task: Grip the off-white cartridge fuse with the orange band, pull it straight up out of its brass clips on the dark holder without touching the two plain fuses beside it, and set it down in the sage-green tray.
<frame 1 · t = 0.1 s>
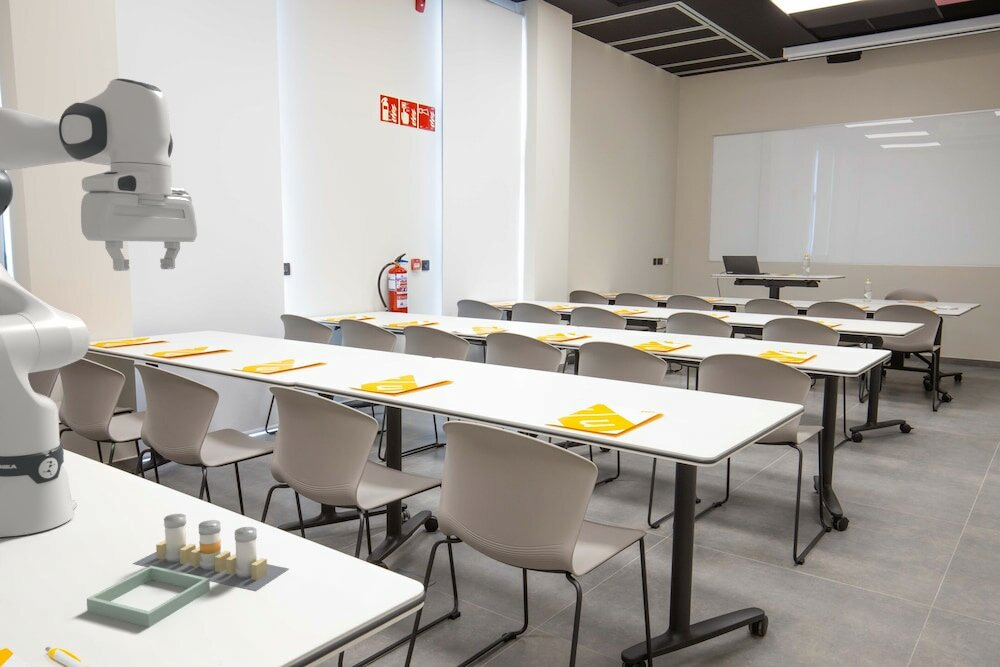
hand: (145, 270, 118), 48 cm above the table, fingers open, 8 cm apart
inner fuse: (176, 558, 117), point 1 cm above the table, touching fuse holder
marked fuse: (210, 566, 114), point 1 cm above the table, touching fuse holder
outer fuse: (246, 573, 112), point 1 cm above the table, touching fuse holder
parts tray: (150, 608, 103), on the table
fuse holder: (211, 573, 115), on the table
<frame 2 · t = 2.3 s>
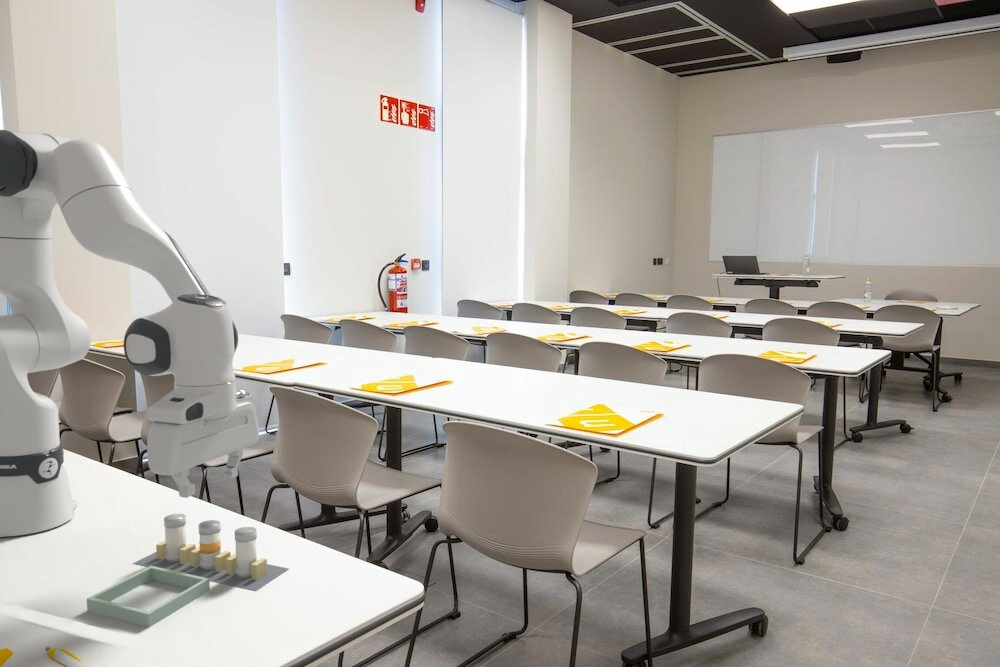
hand: (209, 486, 113), 14 cm above the table, fingers open, 8 cm apart
nothing on the table moved.
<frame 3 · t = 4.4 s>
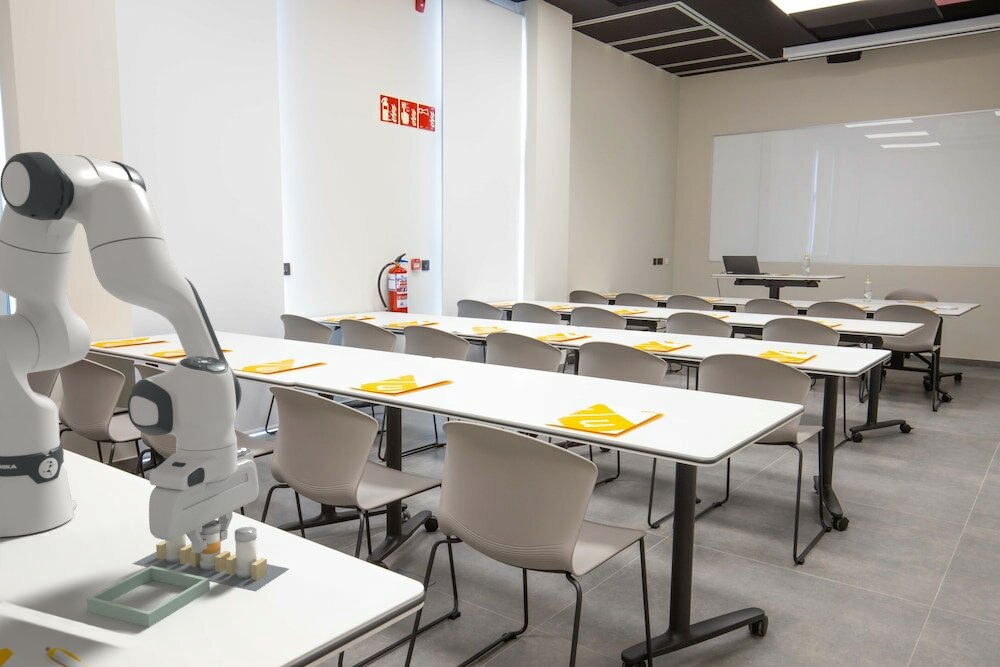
hand: (210, 545, 114), 5 cm above the table, fingers closed on marked fuse, 3 cm apart
marked fuse: (210, 566, 114), point 1 cm above the table, touching fuse holder, gripper
everything else where it was.
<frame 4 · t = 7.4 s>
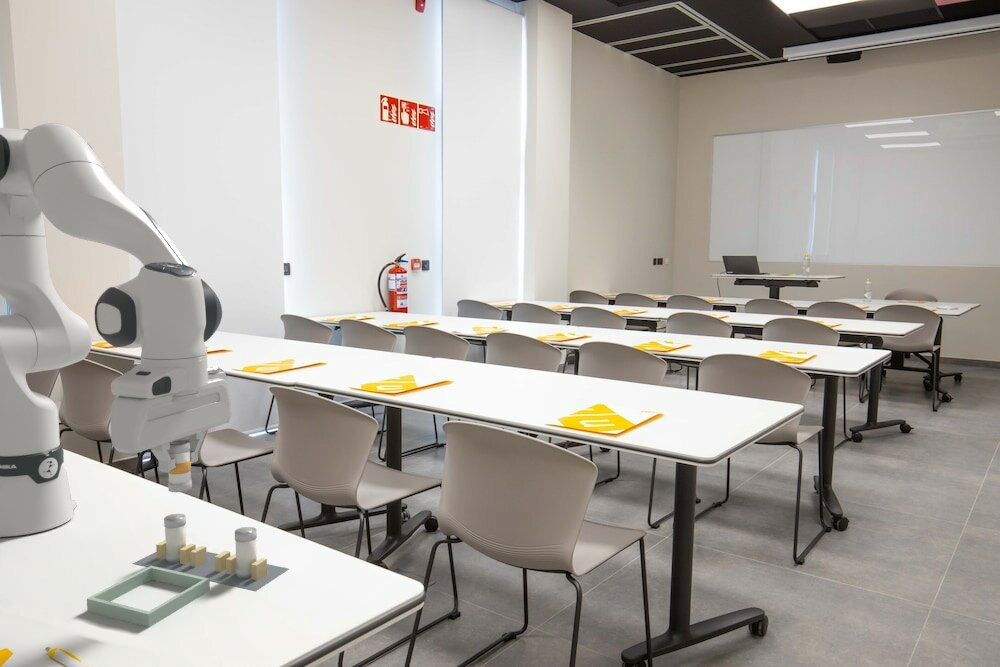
hand: (178, 466, 107), 19 cm above the table, fingers closed on marked fuse, 3 cm apart
marked fuse: (180, 488, 107), point 16 cm above the table, touching gripper
everything else where it was.
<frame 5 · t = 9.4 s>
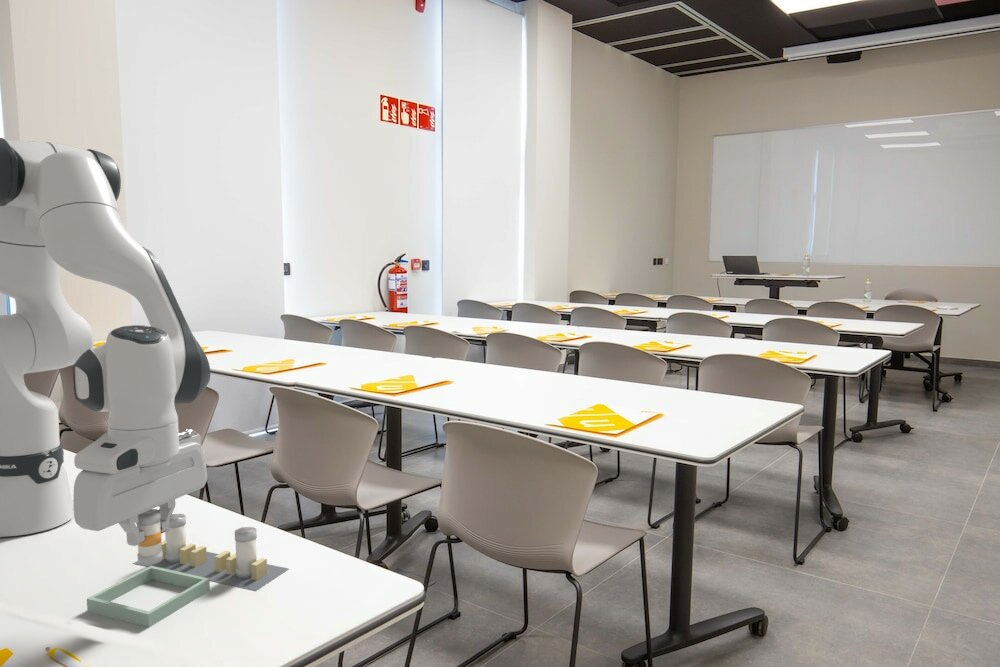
hand: (148, 537, 102), 11 cm above the table, fingers closed on marked fuse, 3 cm apart
marked fuse: (150, 560, 102), point 7 cm above the table, touching gripper
everything else where it was.
when the fingers open (6 cm above the table, at t = 10.9 s): marked fuse drops 2 cm, resting on parts tray.
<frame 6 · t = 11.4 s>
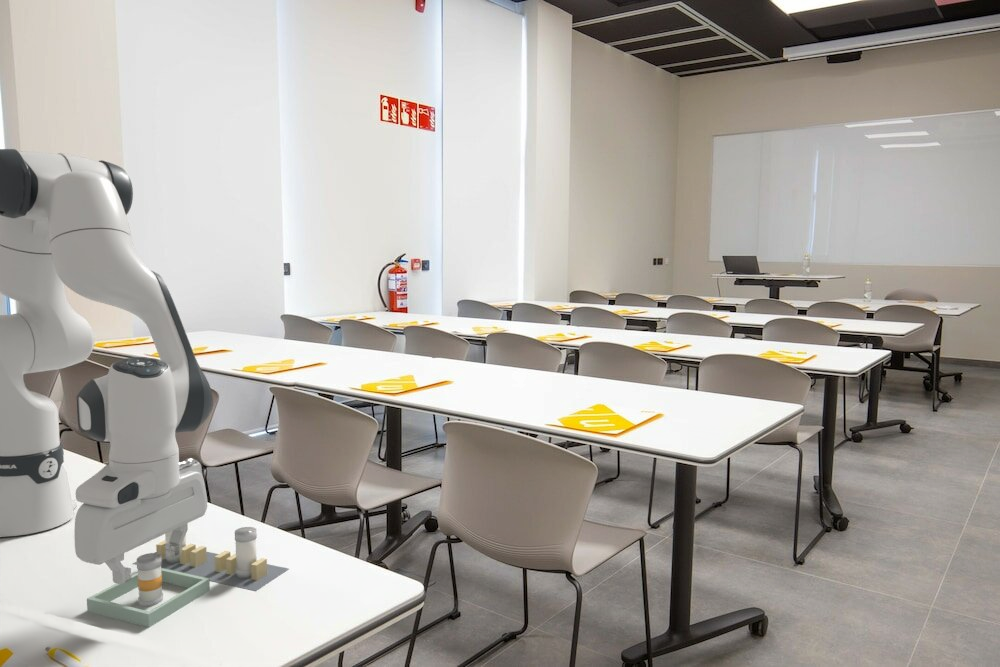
hand: (149, 567, 103), 6 cm above the table, fingers open, 8 cm apart
marked fuse: (151, 604, 103), point 1 cm above the table, touching parts tray
everything else where it was.
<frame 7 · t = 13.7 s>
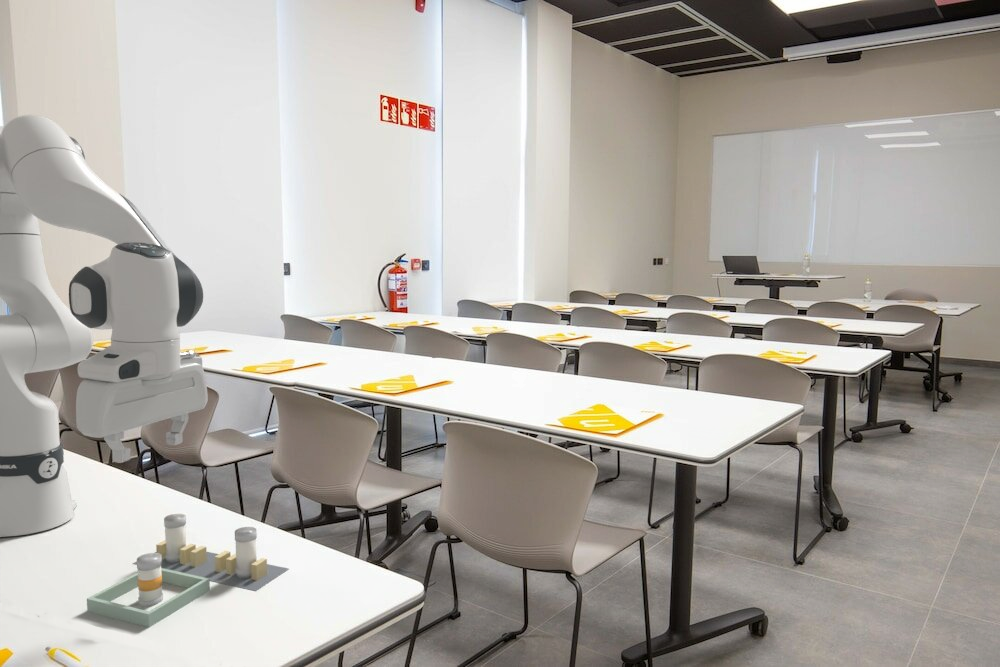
hand: (149, 452, 104), 22 cm above the table, fingers open, 8 cm apart
nothing on the table moved.
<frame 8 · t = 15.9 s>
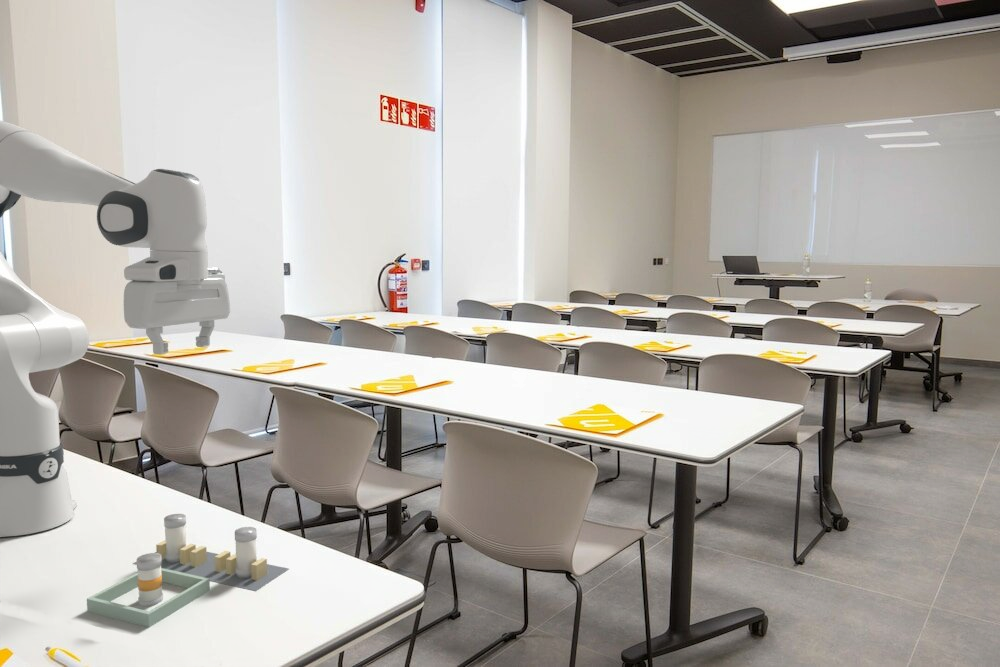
hand: (182, 350, 122), 34 cm above the table, fingers open, 8 cm apart
nothing on the table moved.
at the end: marked fuse inside the target area on the parts tray (0.0 cm from its centre), point 0.6 cm above the parts tray's base; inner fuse moved 0.0 cm from its start; outer fuse moved 0.0 cm from its start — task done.
